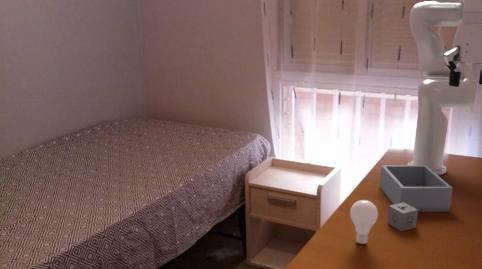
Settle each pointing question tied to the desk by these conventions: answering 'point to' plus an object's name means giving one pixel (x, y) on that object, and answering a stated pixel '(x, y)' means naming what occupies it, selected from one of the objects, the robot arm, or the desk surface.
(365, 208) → the lightbulb
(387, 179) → the box
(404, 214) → the dice cube
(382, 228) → the desk surface
